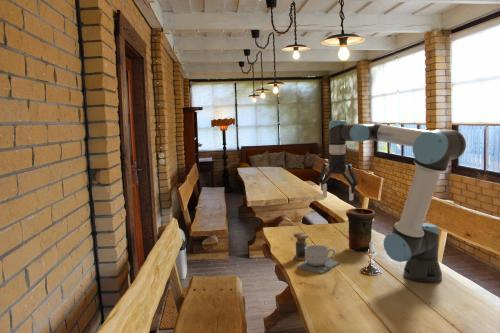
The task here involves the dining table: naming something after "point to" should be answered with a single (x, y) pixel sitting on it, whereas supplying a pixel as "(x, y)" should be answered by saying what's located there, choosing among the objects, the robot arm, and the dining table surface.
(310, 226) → the dining table surface
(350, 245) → the vessel
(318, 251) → the teacup
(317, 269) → the pad
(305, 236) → the brown rounded upright piece
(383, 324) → the dining table surface
